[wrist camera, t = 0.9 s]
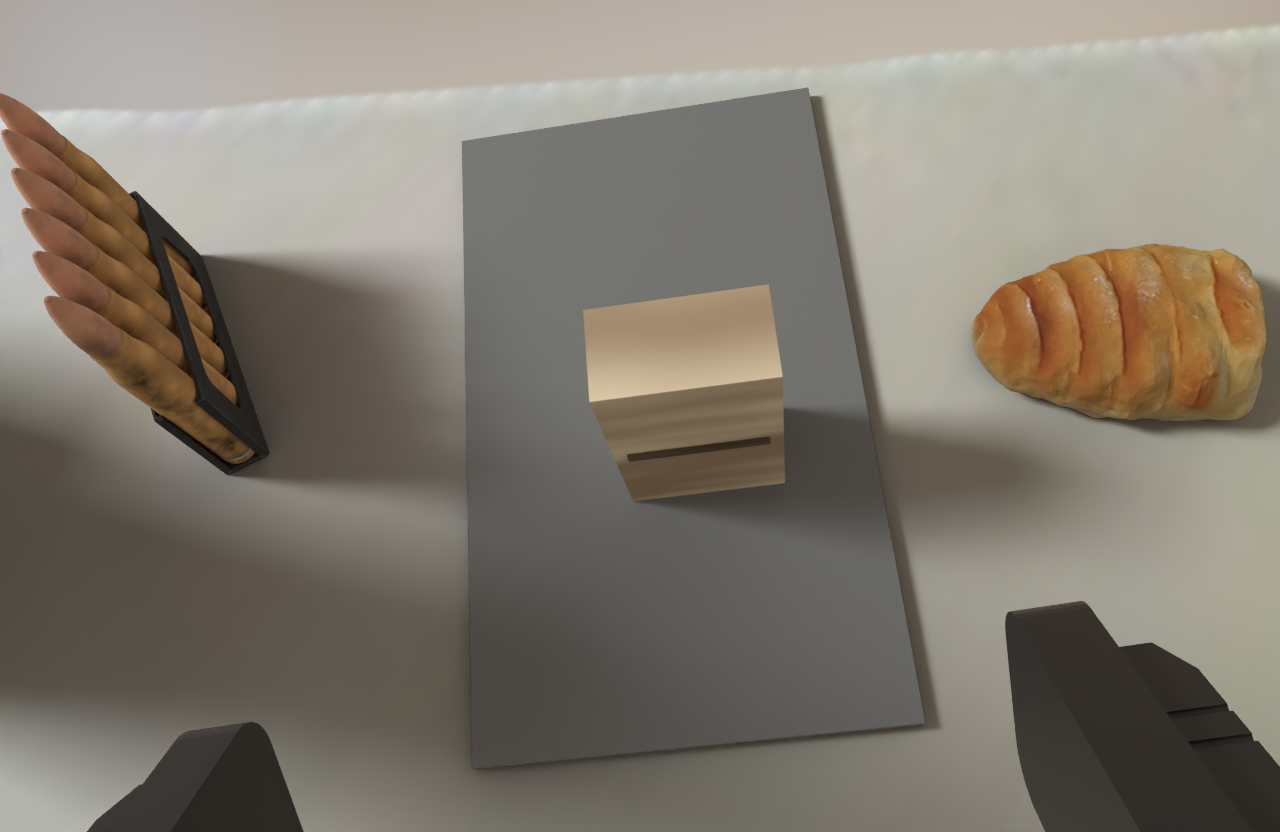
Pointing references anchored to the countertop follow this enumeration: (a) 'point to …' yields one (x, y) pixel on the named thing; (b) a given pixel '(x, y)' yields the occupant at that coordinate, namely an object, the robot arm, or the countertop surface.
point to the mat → (681, 525)
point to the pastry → (1131, 334)
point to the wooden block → (689, 391)
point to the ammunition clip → (132, 293)
